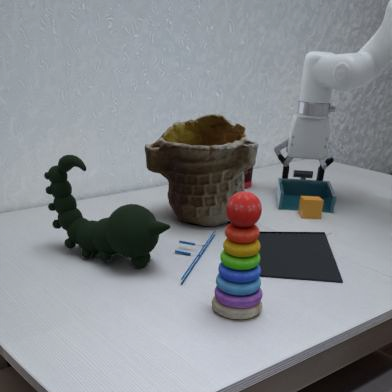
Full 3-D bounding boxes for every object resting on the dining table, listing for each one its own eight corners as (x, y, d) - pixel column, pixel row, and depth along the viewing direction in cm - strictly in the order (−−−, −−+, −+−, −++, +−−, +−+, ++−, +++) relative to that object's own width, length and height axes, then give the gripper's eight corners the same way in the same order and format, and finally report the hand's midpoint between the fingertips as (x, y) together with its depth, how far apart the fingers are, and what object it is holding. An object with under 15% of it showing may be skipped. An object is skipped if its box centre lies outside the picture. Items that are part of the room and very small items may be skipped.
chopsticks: (153, 272, 87) (182, 277, 86) (191, 225, 107) (215, 229, 107) (153, 279, 88) (181, 285, 87) (191, 232, 108) (214, 236, 107)
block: (319, 196, 120) (323, 200, 116) (316, 215, 122) (320, 220, 118) (300, 195, 119) (304, 199, 115) (297, 214, 122) (301, 219, 118)
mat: (319, 220, 119) (319, 218, 119) (342, 282, 91) (343, 281, 90) (243, 214, 120) (243, 213, 120) (243, 275, 91) (243, 273, 91)
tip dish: (324, 193, 135) (328, 171, 132) (332, 215, 122) (337, 191, 119) (275, 189, 136) (278, 168, 133) (278, 211, 123) (281, 187, 119)
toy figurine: (48, 261, 96) (159, 281, 86) (27, 158, 87) (150, 166, 76) (79, 246, 104) (185, 262, 93) (63, 148, 94) (180, 155, 84)
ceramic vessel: (183, 209, 95) (151, 83, 96) (150, 248, 118) (124, 146, 118) (284, 196, 103) (254, 80, 104) (235, 235, 126) (211, 140, 127)
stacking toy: (221, 293, 85) (230, 180, 75) (267, 304, 82) (282, 188, 72) (204, 314, 79) (211, 194, 68) (252, 326, 76) (267, 203, 66)
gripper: (346, 109, 126) (332, 180, 136) (276, 105, 127) (268, 176, 137) (351, 114, 120) (336, 188, 130) (278, 110, 121) (269, 183, 130)
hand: (301, 181), depth 133 cm, fingers open, 8 cm apart
